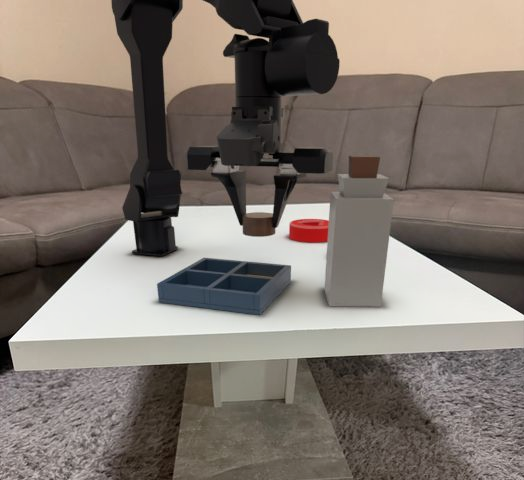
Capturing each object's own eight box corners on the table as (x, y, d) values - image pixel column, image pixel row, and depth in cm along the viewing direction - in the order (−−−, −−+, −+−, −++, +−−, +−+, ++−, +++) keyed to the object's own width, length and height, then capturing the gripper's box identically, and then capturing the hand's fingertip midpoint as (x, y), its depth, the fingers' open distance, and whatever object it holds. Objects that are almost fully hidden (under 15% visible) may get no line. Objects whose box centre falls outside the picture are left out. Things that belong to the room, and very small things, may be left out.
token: (237, 235, 63) (237, 216, 61) (249, 229, 66) (249, 211, 65) (269, 237, 61) (269, 218, 60) (279, 231, 65) (279, 213, 64)
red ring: (284, 233, 101) (284, 219, 100) (326, 232, 103) (327, 217, 101) (295, 243, 92) (296, 227, 91) (340, 241, 94) (341, 225, 93)
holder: (158, 302, 61) (156, 283, 60) (204, 273, 73) (203, 257, 72) (260, 315, 57) (260, 295, 56) (290, 282, 69) (291, 265, 68)
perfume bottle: (324, 289, 66) (333, 154, 58) (371, 290, 66) (386, 154, 58) (329, 306, 60) (339, 157, 52) (380, 306, 60) (398, 158, 52)
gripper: (158, 95, 52) (170, 233, 59) (318, 92, 47) (310, 243, 54) (200, 100, 62) (206, 218, 69) (337, 98, 56) (329, 226, 63)
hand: (258, 226), depth 63 cm, fingers closed on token, 4 cm apart
